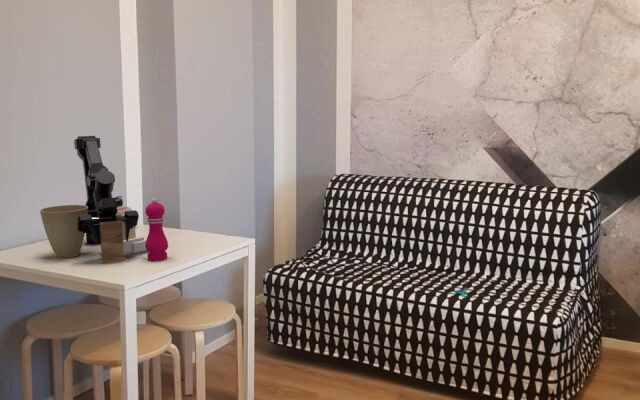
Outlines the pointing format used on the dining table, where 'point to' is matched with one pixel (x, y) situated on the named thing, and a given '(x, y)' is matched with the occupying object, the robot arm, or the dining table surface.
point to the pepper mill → (156, 232)
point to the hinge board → (134, 247)
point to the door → (111, 242)
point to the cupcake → (122, 210)
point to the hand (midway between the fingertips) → (112, 242)
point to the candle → (131, 233)
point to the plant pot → (64, 228)
